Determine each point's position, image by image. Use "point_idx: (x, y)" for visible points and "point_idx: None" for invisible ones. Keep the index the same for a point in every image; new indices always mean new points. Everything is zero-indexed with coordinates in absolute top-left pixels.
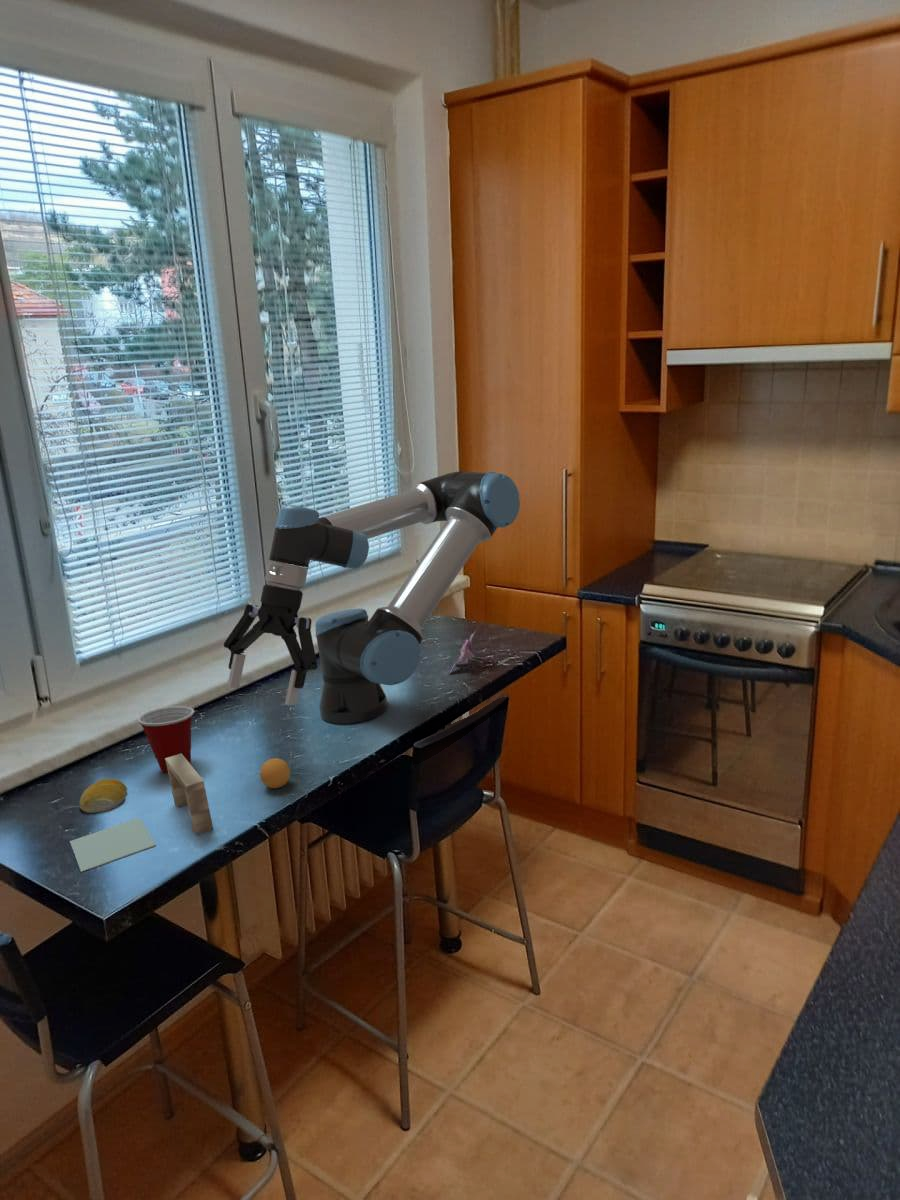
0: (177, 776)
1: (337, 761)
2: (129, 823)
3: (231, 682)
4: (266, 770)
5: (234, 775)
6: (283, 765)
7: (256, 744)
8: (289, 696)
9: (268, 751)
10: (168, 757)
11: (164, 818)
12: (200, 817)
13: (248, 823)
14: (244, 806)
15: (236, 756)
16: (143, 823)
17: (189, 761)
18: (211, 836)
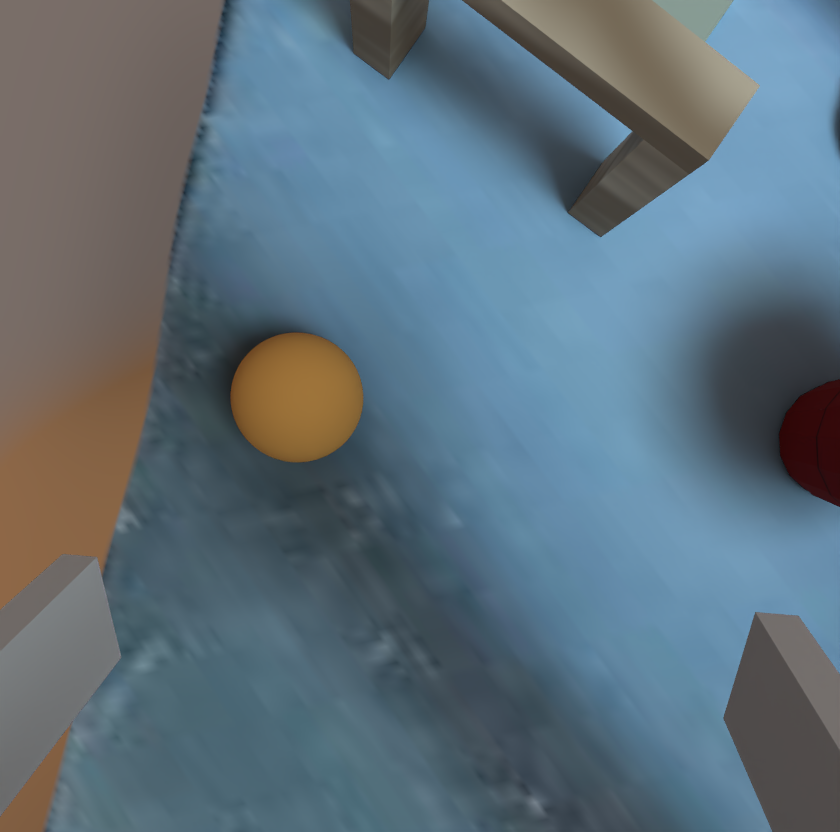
0: None
1: (178, 647)
2: (700, 12)
3: (782, 659)
4: (295, 343)
5: (546, 439)
6: (238, 401)
7: (629, 701)
8: (5, 607)
9: (536, 656)
10: (747, 98)
11: None
12: None
13: (241, 118)
14: (341, 228)
15: (645, 585)
16: None
17: (792, 459)
18: (324, 6)
